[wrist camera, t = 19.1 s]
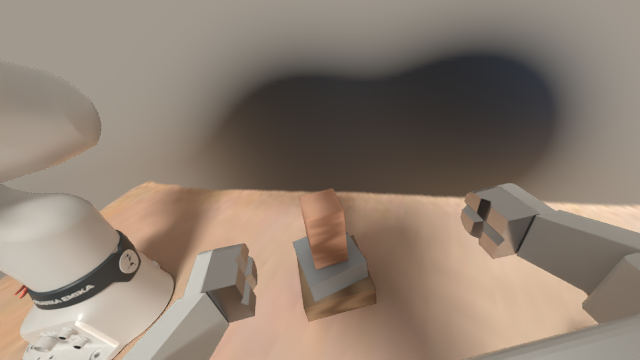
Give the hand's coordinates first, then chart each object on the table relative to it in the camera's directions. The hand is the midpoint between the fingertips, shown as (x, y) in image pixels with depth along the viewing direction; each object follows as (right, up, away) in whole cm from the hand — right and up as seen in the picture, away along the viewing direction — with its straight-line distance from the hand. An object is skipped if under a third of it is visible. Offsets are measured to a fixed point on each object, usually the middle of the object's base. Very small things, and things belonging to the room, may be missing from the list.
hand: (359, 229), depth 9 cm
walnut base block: (+1, -16, +33) cm, 37 cm away
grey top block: (0, -13, +31) cm, 34 cm away
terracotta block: (0, -10, +29) cm, 30 cm away
